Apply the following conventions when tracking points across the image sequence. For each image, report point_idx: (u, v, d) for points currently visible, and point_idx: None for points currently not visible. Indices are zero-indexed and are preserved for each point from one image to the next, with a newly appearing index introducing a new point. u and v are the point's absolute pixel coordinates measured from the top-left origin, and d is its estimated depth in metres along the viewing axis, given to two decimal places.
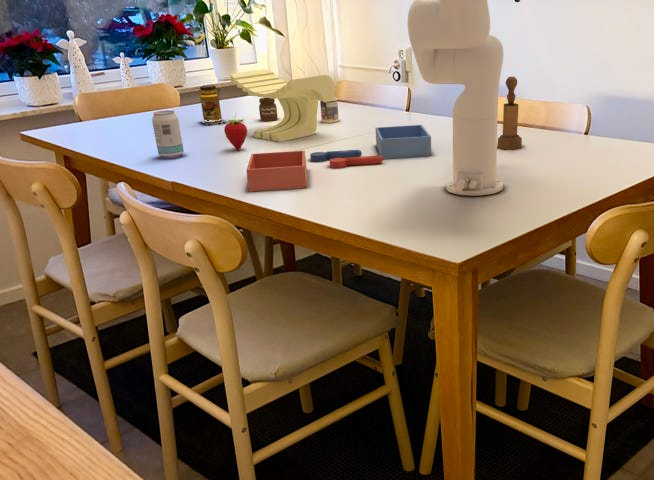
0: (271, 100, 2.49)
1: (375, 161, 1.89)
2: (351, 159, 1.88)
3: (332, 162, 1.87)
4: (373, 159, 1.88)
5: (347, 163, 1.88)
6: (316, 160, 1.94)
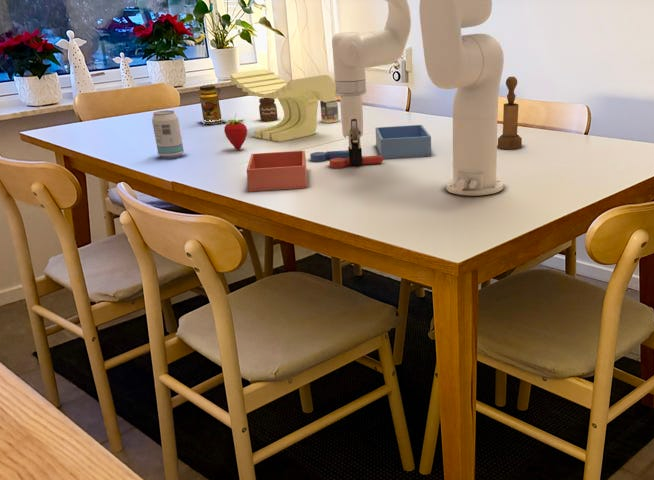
0: (271, 100, 2.49)
1: (375, 161, 1.89)
2: None
3: (332, 162, 1.87)
4: (373, 159, 1.88)
5: (347, 163, 1.88)
6: (316, 160, 1.94)
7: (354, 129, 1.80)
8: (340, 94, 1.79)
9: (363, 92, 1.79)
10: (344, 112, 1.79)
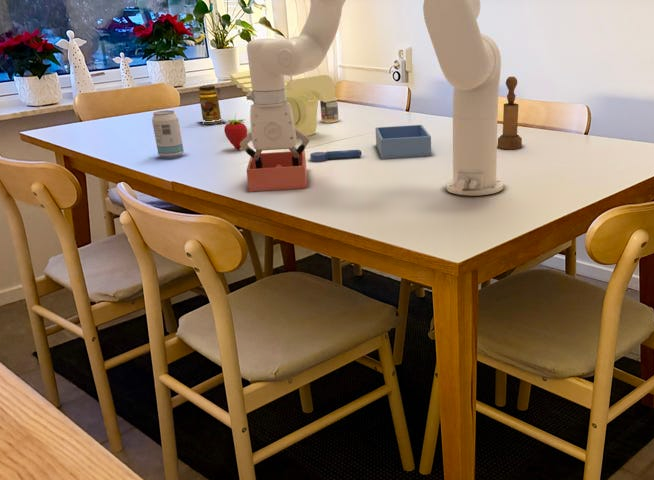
0: None
1: None
2: None
3: None
4: None
5: None
6: (316, 160, 1.94)
7: (296, 136, 1.74)
8: (280, 104, 1.67)
9: None
10: (292, 120, 1.70)
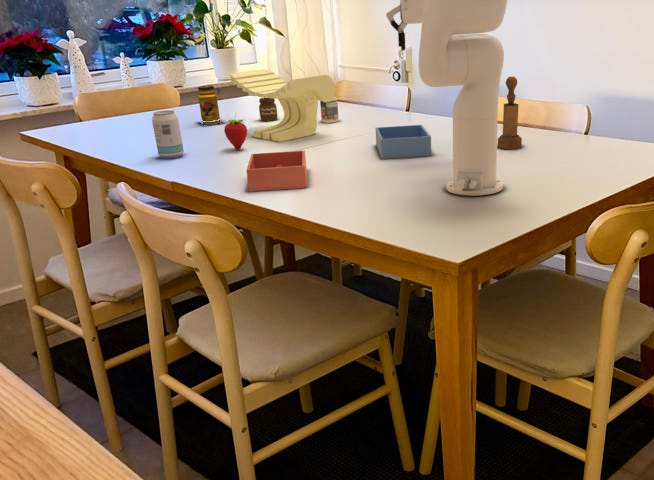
0: (271, 100, 2.49)
1: None
2: None
3: None
4: None
5: None
6: None
7: (400, 14, 1.79)
8: None
9: None
10: None
